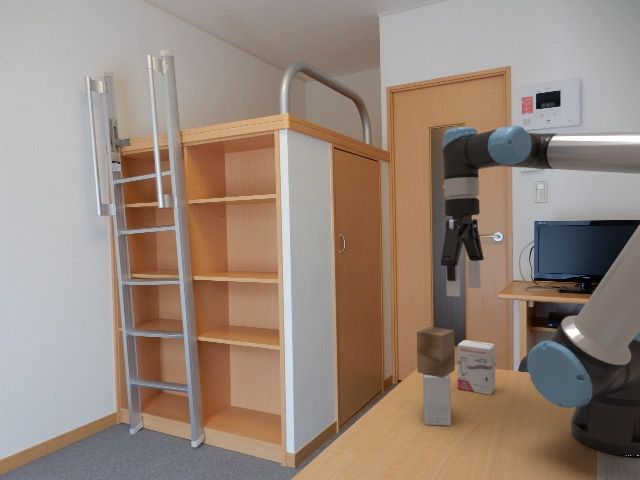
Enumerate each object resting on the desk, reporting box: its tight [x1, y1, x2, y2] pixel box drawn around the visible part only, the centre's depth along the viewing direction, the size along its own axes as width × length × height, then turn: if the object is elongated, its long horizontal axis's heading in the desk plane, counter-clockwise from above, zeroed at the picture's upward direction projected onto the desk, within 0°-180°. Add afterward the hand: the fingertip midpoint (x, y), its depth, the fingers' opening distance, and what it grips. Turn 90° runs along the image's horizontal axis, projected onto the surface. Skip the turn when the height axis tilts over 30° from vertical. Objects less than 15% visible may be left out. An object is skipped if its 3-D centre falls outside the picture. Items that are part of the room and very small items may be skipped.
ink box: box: [457, 339, 496, 396], centre depth 121 cm, size 9×5×12 cm, turn 55°
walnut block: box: [416, 326, 456, 378], centre depth 104 cm, size 6×6×9 cm
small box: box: [422, 373, 452, 427], centre depth 104 cm, size 8×6×10 cm
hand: (464, 292), depth 107 cm, fingers open, 13 cm apart
